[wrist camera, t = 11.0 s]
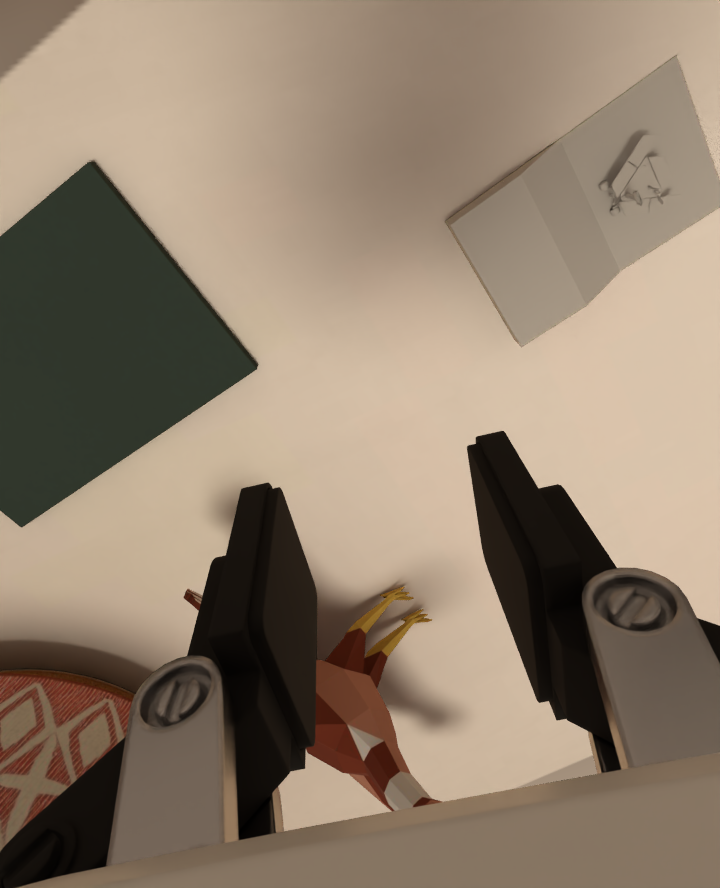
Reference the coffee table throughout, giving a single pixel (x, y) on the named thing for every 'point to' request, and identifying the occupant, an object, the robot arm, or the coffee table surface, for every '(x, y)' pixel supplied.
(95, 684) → the planter
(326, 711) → the decorative bird
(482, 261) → the white pop-up card
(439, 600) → the coffee table surface
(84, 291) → the felt mat
